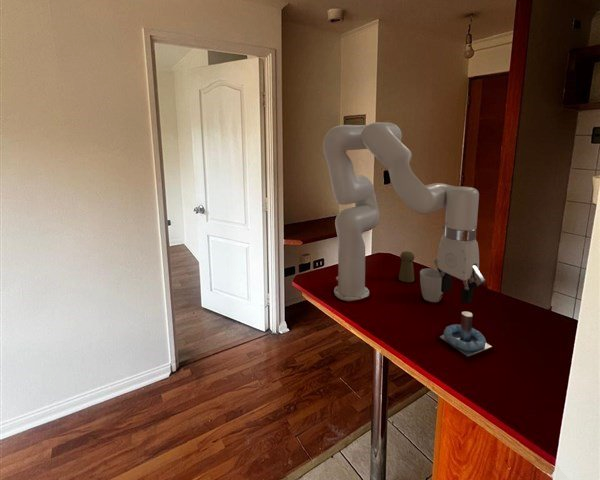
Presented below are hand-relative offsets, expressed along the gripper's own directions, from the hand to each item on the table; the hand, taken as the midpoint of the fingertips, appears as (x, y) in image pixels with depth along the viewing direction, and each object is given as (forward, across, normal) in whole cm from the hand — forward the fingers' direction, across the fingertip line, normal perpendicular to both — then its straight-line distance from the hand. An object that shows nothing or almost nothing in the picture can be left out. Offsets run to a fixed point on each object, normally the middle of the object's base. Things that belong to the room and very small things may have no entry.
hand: (456, 296), depth 89 cm
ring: (+10, +3, 0) cm, 11 cm away
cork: (+13, -35, +14) cm, 40 cm away
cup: (+13, -18, +10) cm, 24 cm away
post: (+12, +4, 0) cm, 13 cm away
